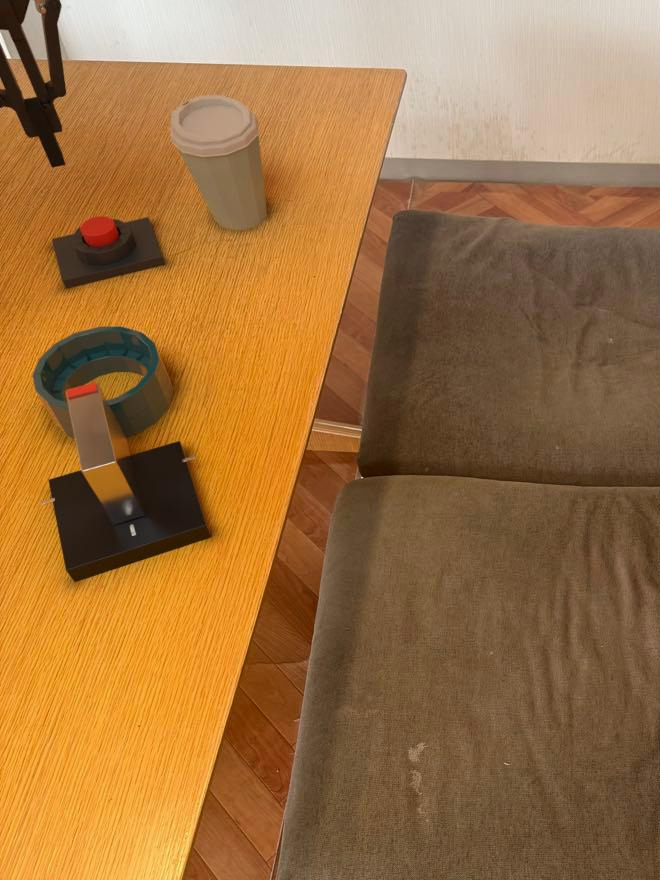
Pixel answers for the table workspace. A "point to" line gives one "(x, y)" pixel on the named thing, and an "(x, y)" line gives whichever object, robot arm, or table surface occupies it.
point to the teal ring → (100, 356)
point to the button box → (108, 254)
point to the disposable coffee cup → (222, 157)
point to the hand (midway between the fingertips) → (57, 159)
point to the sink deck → (159, 531)
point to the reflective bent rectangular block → (104, 453)
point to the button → (99, 231)
